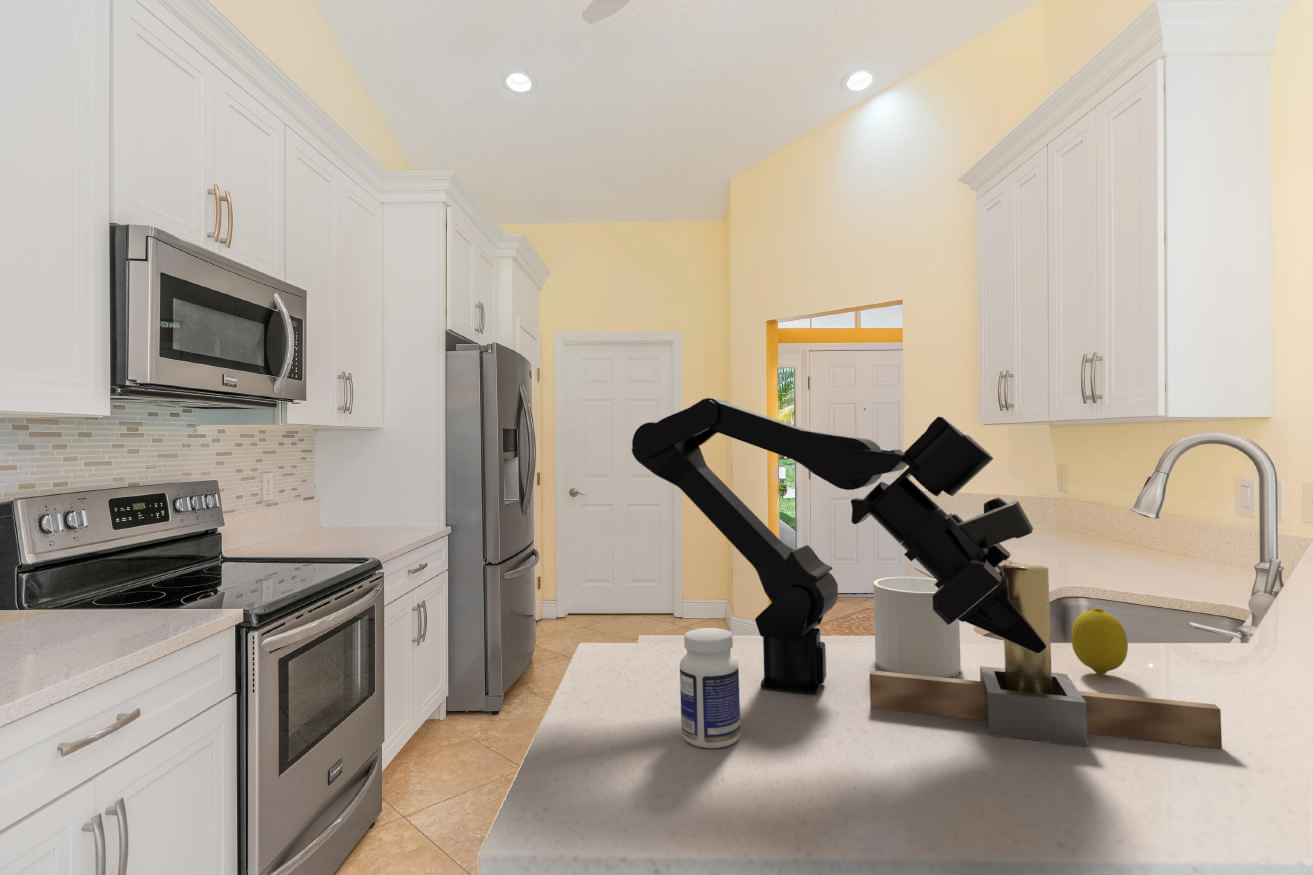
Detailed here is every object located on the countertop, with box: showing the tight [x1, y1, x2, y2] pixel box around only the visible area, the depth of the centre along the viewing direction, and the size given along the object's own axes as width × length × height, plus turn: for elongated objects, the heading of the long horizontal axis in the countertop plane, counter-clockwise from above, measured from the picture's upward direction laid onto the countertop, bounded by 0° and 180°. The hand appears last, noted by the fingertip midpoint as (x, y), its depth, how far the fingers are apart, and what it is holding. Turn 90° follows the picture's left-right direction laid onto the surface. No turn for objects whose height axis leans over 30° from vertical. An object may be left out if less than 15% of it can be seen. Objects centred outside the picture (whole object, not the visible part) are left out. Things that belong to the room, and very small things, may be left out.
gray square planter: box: [979, 665, 1089, 748], centre depth 64 cm, size 8×8×4 cm
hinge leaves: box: [869, 670, 1223, 749], centre depth 64 cm, size 30×1×4 cm, turn 68°
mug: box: [872, 576, 962, 678], centre depth 83 cm, size 13×10×10 cm
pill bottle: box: [679, 627, 741, 749], centre depth 63 cm, size 6×6×10 cm
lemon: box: [1071, 607, 1129, 676], centre depth 77 cm, size 6×6×8 cm
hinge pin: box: [1001, 563, 1052, 695], centre depth 64 cm, size 4×4×14 cm
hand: (1043, 644), depth 64 cm, fingers closed on hinge pin, 4 cm apart
